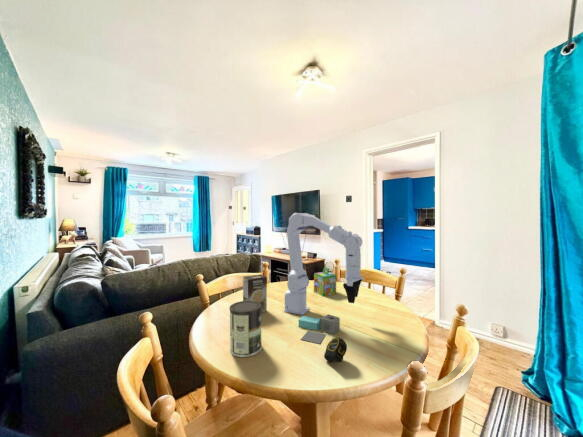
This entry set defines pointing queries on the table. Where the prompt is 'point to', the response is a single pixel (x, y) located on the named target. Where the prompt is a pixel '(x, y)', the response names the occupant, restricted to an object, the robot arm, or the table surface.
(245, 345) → the coffee can
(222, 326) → the table surface
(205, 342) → the table surface
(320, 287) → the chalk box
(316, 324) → the turquoise box
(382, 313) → the table surface
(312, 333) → the stub pad
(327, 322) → the dice cube
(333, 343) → the tape measure
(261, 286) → the coffee box
